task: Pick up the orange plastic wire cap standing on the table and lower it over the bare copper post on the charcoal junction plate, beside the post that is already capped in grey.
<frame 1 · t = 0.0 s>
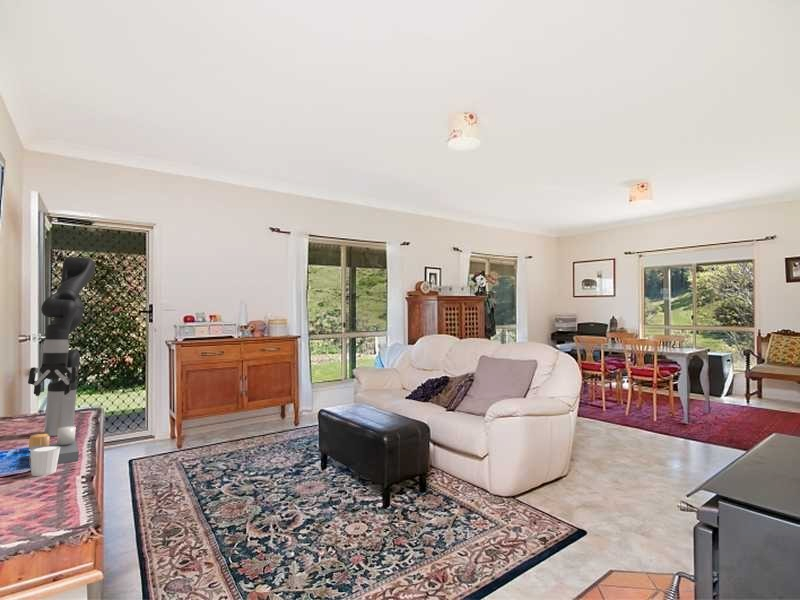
hand: (51, 395, 159), 17 cm above the table, tool pointing down, fingers open, 8 cm apart
junction plate: (53, 458, 139), on the table
white tapered cup: (43, 473, 125), on the table
orange wire cap: (38, 449, 148), on the table
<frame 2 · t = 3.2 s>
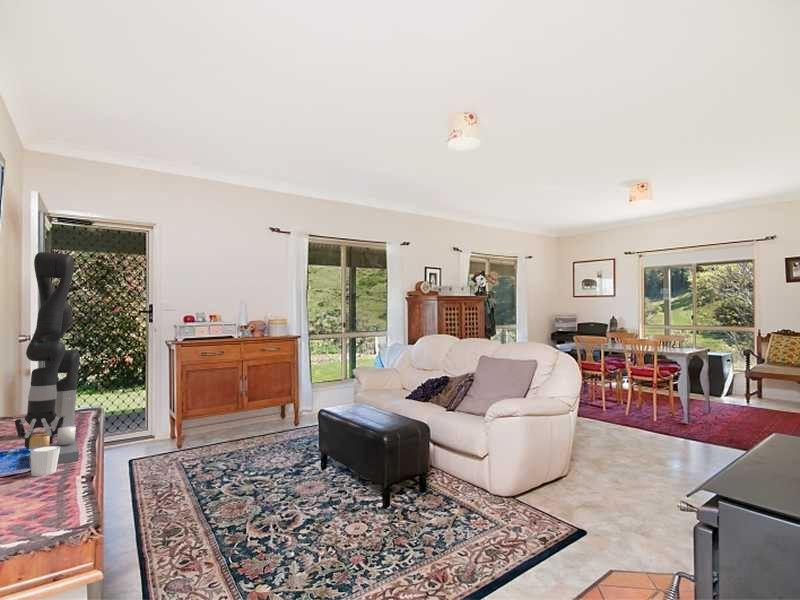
hand: (38, 447, 148), 1 cm above the table, tool pointing down, fingers closed on orange wire cap, 4 cm apart
orange wire cap: (38, 449, 148), on the table, touching gripper
everything else where it was.
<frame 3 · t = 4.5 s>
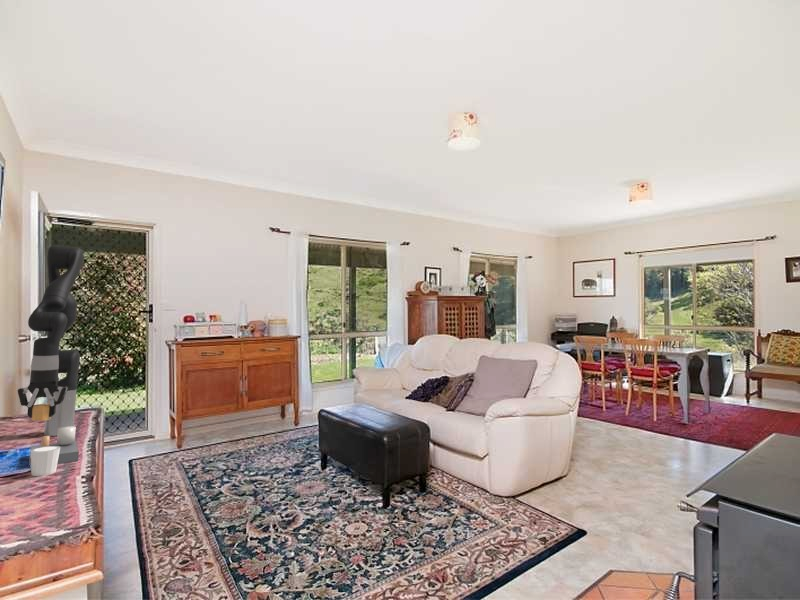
hand: (41, 416, 149), 11 cm above the table, tool pointing down, fingers closed on orange wire cap, 4 cm apart
orange wire cap: (41, 419, 149), point 10 cm above the table, touching gripper
everything else where it was.
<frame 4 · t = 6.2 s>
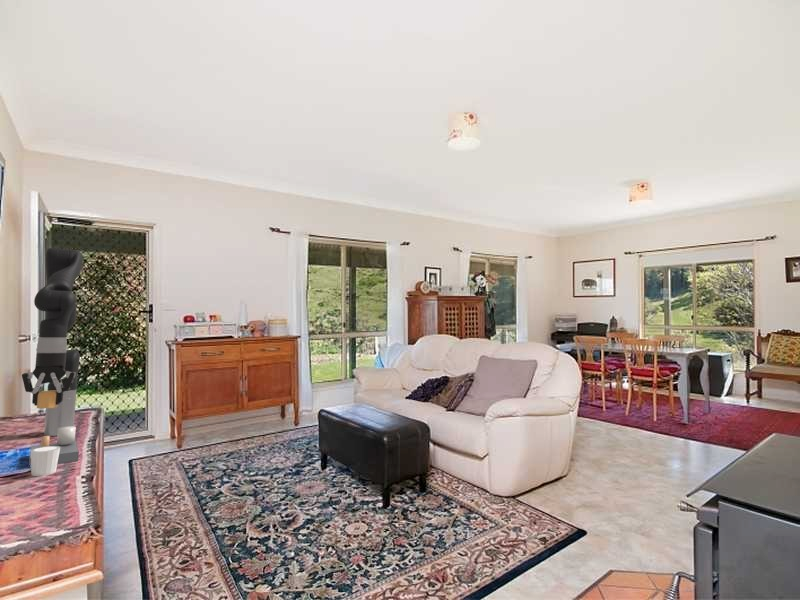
hand: (47, 404, 136), 18 cm above the table, tool pointing down, fingers closed on orange wire cap, 4 cm apart
orange wire cap: (47, 407, 136), point 17 cm above the table, touching gripper
everything else where it was.
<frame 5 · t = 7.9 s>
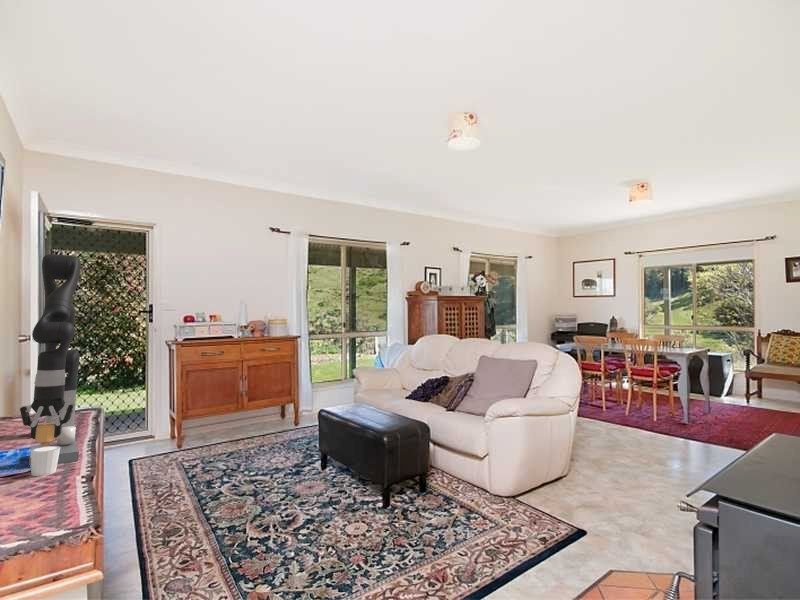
hand: (45, 437, 135), 8 cm above the table, tool pointing down, fingers closed on orange wire cap, 4 cm apart
orange wire cap: (45, 440, 135), point 7 cm above the table, touching gripper
everything else where it was.
when the fingers open (5 cm above the table, at t = 9.2 s): orange wire cap stays where it is, resting on junction plate.
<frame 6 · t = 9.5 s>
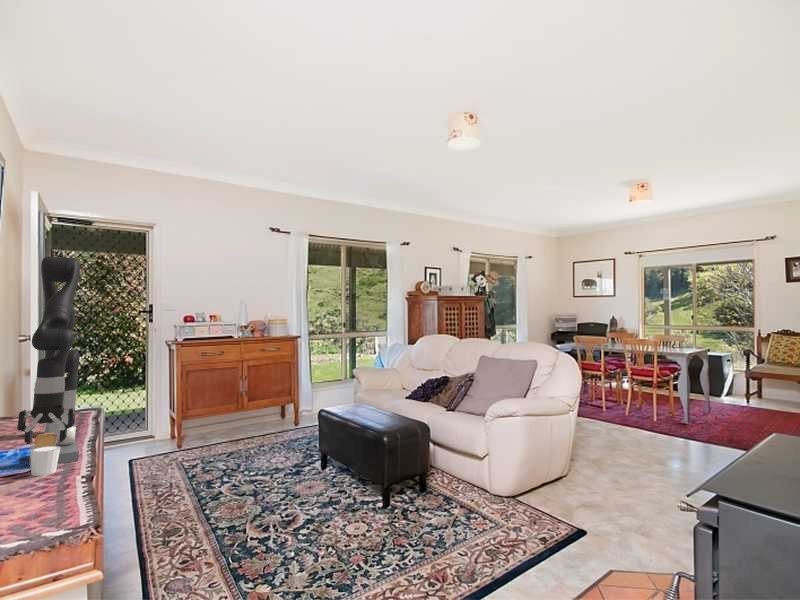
hand: (45, 442, 135), 6 cm above the table, tool pointing down, fingers open, 8 cm apart
orange wire cap: (45, 450, 135), point 4 cm above the table, touching junction plate
everything else where it was.
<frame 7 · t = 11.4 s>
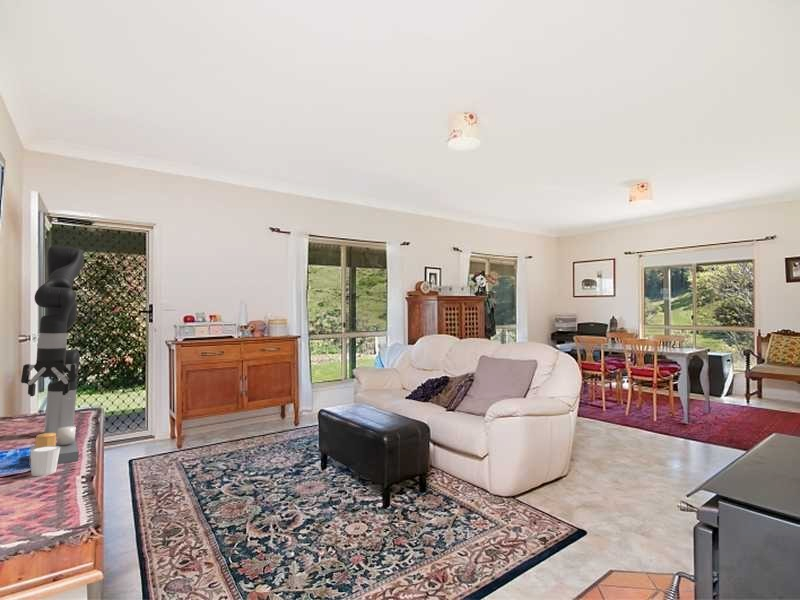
hand: (48, 395, 141), 20 cm above the table, tool pointing down, fingers open, 8 cm apart
nothing on the table moved.
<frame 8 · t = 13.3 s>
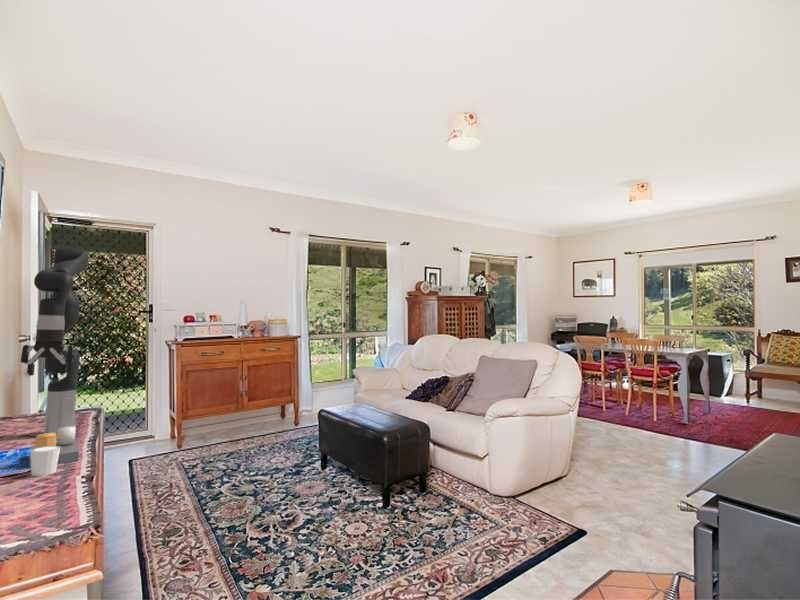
hand: (46, 375, 148), 26 cm above the table, tool pointing down, fingers open, 8 cm apart
nothing on the table moved.
at the end: orange wire cap 0.1 cm from the target spot, point 3.6 cm above the table; orange wire cap tilted 0°; the gripper is holding nothing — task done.
